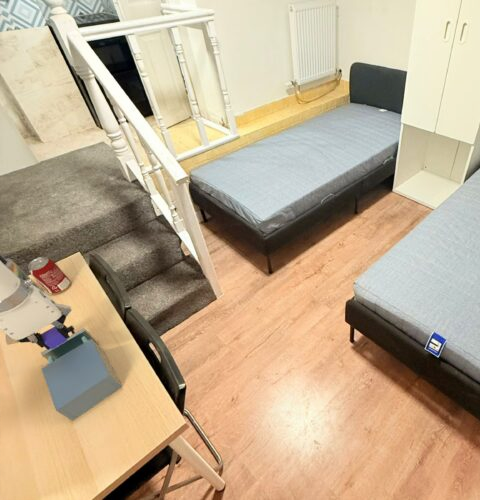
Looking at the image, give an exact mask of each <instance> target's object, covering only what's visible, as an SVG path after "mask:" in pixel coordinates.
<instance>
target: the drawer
mask: <svg viewBox="0 0 480 500" xmlns="http://www.w3.org/2000/svg"><path fill="white" fill-rule="evenodd" d="M67 328H68V329H69V331H70V332H69V333H71V334H70V335H69V337H70V338H68V339H67V341H66V342H64V343H62V344H60V345H59V346H57V347H55V348H54V349H49V350H47V349H46V348H45V350H42V351H41V352H40V354H41V356H42V357H43V358H44V359H46V360H47V361H48V364H50V363H51V362H53V361H55V360H56V359H58V358H60V357H61V356H63V355H65V354H66V353H68V352H70V351H71V350H73V349H75V348H76V347H78V346H80V345H82V344H83V343H85V342H87V341H88V340H90V339H92V340H93V341H94V342H95V343H96V344H97V345H98V344H99V343H98V340H97V339H96V338H95V337H94V336H93V335H92V334H91V333H90V332H89V331H88V330H87V329H86V328H85V327H82V328H81V329H80V330H77V331H75V327H74V326H73V325H69V326H67Z"/></svg>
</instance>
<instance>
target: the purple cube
mask: <svg viewBox="0 0 480 500" xmlns="http://www.w3.org/2000/svg"><path fill="white" fill-rule="evenodd" d="M40 334H41V335H42V337H43V340H44V343H45V344H46V345H47V346H48V347H50V348H51V349H54V348H55V347H57V346H59V345H60V344H62V343H64V342H66V341H67V339H66V338H65V337H64V336H63V335H62V334H61V333H59V332H58V331H57V328H56V327H55V326H53V327H51V328H50V329H48V330H45V331H44V332H42V333H40Z"/></svg>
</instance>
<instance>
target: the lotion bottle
mask: <svg viewBox="0 0 480 500" xmlns="http://www.w3.org/2000/svg"><path fill="white" fill-rule="evenodd" d="M0 261H1V262H2V263H3V264H4V265H5V266H6V267H8V268H9V269H10V270H11V271H12V272H13V273H14V274H15V275H16V276H17V277H18V278H21V279H22V280H28V279H31V277H30V276H29V275H27V274H26V273H25V271H24V270H22V269H21V267H20V266H19V265H18V264H16V262H15V261H13V260H12V259H11V258H5V257H4V256H3V255H2V254H1V253H0ZM32 285H33V286H35V287H37V288H38V289H40V290H41V291H43V290H42V288H41V287H40V286H38V284H36V283H35V282H34V284H32Z"/></svg>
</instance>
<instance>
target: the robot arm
mask: <svg viewBox="0 0 480 500" xmlns="http://www.w3.org/2000/svg"><path fill="white" fill-rule="evenodd" d="M34 283H35V281H34V280H33V279H32V278H30V279H28V280H22V279H21V278H18V277H17V276H16V275H15V274H14V273H13V272H12V271H11V270H10V269H9V268H8V267H6V266H5V265H4V264H3V263H2V262H1V261H0V330H1V331H2V332H3V333H5V343H6V345H8V346H9V345H15V344H18V343H21V344H22V343H31V344H36V345H37V346H39V347H40V348H42V349H43V348H45V350H46V349H47V350H49V349H51V348H50V347H48V346H47V345H46V344H45V343H44V340H43V337H42V335H41V334H42V333H41V332H39V331H40V330H42V329H43V328H44V329H45V328H46V327H47V326H49V325H51V326H53V327H56V328H57V331H58V332H59V333H61V334H62V335H63V336H64V337H65V338H66V339H68V338H70V337H69V336H70V334H69V333H71V332H70V331H69V329H68V326H66V325H65V321H66V320H67V316H69V314H70V313H71V312H72V307H71V306H70V305H68V304H61V303H57V302H56V300H54V299H53V298H52V297H51V296H49V295H48V294H47V293H45V292H44V291H43V290H42V289H41V288H40V289H41V290H42V291H41V290H40V289H38V288H37V287H35V286H33V285H32V284H34Z"/></svg>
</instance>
